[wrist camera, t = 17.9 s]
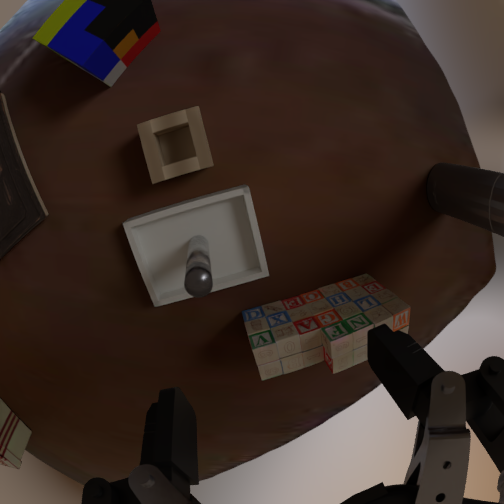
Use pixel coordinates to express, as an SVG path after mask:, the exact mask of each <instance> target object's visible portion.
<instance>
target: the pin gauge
mask: <svg viewBox="0 0 504 504" xmlns="http://www.w3.org/2000/svg"><path fill="white" fill-rule="evenodd" d="M184 287H185V290H186V291H187V293H188V294H190V295H191V296H193V297H204V296H206V295H208V294H209V293H210V292H211V290H212V287H213V281H212V272H211V263H210V253H209V243H208V240H207V239H206V238H205V237H204V236H201V235H197V236H194V237H192V238H191V239H190V241H189V246H188V255H187V263H186V272H185V281H184Z"/></svg>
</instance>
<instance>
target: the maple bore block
mask: <svg viewBox="0 0 504 504" xmlns="http://www.w3.org/2000/svg"><path fill="white" fill-rule="evenodd" d="M137 127H138V131H139V135H140V139H141V143H142V147H143V151H144V155H145V159H146V163H147V166H148V170H149V173H150V177H151V181H152V184H154V183H157V182H160V181H163V180H166V179H170V178H173V177H176V176H179V175H183V174H186V173H189V172H193V171H196V170H200V169H204V168H207V167H211V166H214V165H213V161H212V157H211V153H210V149H209V145H208V141H207V137H206V133H205V129H204V125H203V121H202V117H201V113H200V109H199V106H196V107H192V108H189V109H185V110H182V111H178V112H175V113H171V114H168V115H165V116H162V117H159V118H155V119H152V120H149V121H146V122H144V123H141V124H138V125H137Z"/></svg>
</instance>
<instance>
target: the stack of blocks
mask: <svg viewBox="0 0 504 504" xmlns="http://www.w3.org/2000/svg"><path fill="white" fill-rule="evenodd" d="M242 315H243V319H244V324H245V327H246V331H247V335H248V339H249V342H250V346H251V349H252V351H253V354H254V357H255V361H256V364H257V366H258V369H259V373H260V376H261V379H262V380H266V379H269V378H272V377H276V376H279V375H282V374H287V373H290V372H293V371H296V370H299V369H302V368H304V367H308V366H311V365H314V364H316V363H319V362H321V361H323V360H325V362H326V364H327V365H328V367H329V368H330V370H331V372H332V373H333V374H334V373H337V372H340V371H342V370H345V369H347V368H349V367H352V366H353V365H356V364H359V363H361V362H363V361H365V360H368V358H367V333H368V330H370V329H372V328H375V327H377V326H379V325H382V324H386V325H387V326H388V327H389V328H390V329H391V330H392V331H393V332H395V331H397V330H400V331H402V332H404V333H407V334H408V328H409V326H408V324H409V319H410V306H409V305H407V304H406V303H405V302H403V301H402V300H401V299H399V298H398V296H396V295H395V294H394V293H392V292H391V291H390V290H388V289H386V288H385V287H384V286H383V285H381V284H380V283H378V282H377V281H376V280H375V279H374V278H372V277H371V276H370V275H368V274H363V275H360V276H357V277H354V278H350V279H347V280H343V281H340V282H337V283H334V284H331V285H327V286H324V287H321V288H318V289H317V290H314V291H311V292H307V293H304V294H301V295H299V296H295V297H292V298H289V299H285V300H282V301H276V302H273V303H269V304H266V305H262V306H259V307H255V308H252V309H248V310H244V311H242Z"/></svg>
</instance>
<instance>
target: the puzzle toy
mask: <svg viewBox="0 0 504 504" xmlns="http://www.w3.org/2000/svg"><path fill="white" fill-rule="evenodd" d="M159 32H160V28H159V24H158V21H157V18H156V15H155V12H154V8H153V5H152V2H151V0H64V2H63V3H62V4H61V5H60V6H59V7H58V8H57V9H56V10H55V11H54V13H53V14H52V15H51V16H50V17H49V18H48V19H47V21H46V22H45V23H44V24H43V26H42V27H41V28H40V29H39V31H38V32H37V33H36V34H35V36H34V37H33V39H34V40H36V41H38V42H39V43H41V44H42V45H44V46H46V47H47V48H49V49H50V50H52V51H53V52H55V53H57V54H58V55H60V56H61V57H63V58H64V59H66V60H67V61H69V62H71V63H73V64H74V65H76V66H78V67H79V68H81V69H83V70H84V71H86V72H88V73H89V74H91V75H92V76H94V77H96V78H97V79H99V80H101V81H102V82H104V83H105V84H107V85H108V86H110V87H111V86H112V85H113V84H114V83H115V81H116V80H117V79H118V78H119V76H120V75H121V74H122V73H123V71H124V70H125V69H126V68H127V67H128V66H129V64H130V63H131V62H132V61H133V60H134V59H135V57H136V56H137V55H138V54H139V53H140V52H141V51H142V50H143V49H144V48H145V47H146V46H147V44H148V43H149V42H150V41H151V40H152V39H153V38H154V37H155V36H156V35H157V34H158V33H159Z"/></svg>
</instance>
